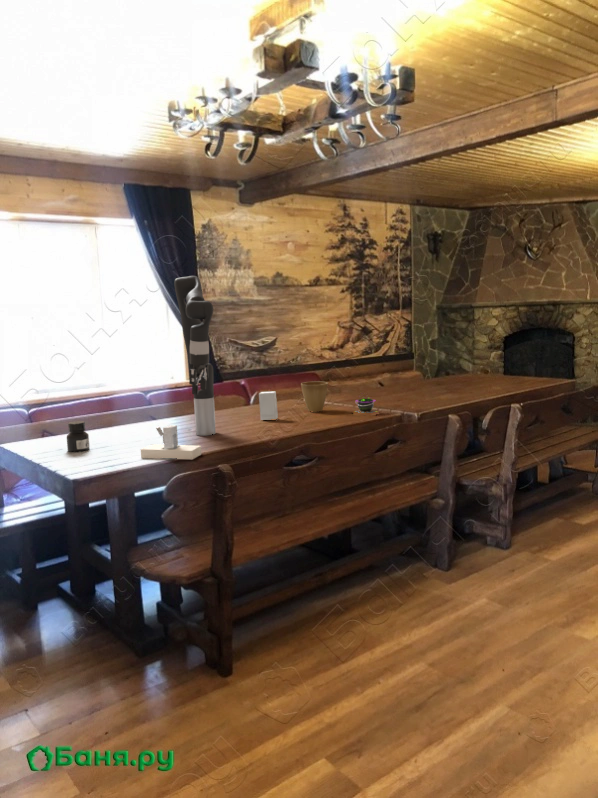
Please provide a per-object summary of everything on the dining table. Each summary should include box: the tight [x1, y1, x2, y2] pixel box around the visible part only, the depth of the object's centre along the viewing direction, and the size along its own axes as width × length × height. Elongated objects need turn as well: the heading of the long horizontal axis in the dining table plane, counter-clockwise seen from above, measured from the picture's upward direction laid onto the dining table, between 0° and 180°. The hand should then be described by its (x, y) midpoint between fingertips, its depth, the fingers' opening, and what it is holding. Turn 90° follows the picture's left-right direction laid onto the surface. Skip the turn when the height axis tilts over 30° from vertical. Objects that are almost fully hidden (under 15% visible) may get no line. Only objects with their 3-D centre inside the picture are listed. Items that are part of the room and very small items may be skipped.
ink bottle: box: [66, 420, 90, 453], centre depth 269 cm, size 10×9×12 cm
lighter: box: [155, 425, 164, 444], centre depth 277 cm, size 7×2×8 cm, turn 123°
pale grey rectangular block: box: [162, 424, 179, 450], centre depth 252 cm, size 5×4×12 cm
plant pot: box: [300, 380, 329, 413], centre depth 351 cm, size 15×15×16 cm
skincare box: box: [258, 390, 279, 421], centre depth 328 cm, size 8×6×15 cm
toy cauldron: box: [354, 393, 377, 413], centre depth 340 cm, size 15×15×11 cm
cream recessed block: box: [140, 444, 202, 461], centre depth 253 cm, size 9×22×4 cm, turn 75°
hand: (199, 391), depth 252 cm, fingers open, 8 cm apart
